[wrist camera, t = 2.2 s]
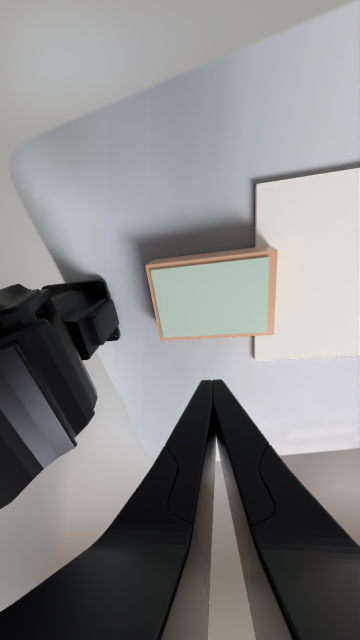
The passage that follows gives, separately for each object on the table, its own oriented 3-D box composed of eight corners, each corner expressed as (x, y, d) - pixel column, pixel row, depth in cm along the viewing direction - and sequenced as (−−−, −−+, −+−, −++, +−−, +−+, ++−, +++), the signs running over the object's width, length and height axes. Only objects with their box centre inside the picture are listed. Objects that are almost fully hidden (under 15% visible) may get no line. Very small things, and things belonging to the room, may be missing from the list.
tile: (267, 321, 21) (165, 328, 23) (269, 245, 18) (152, 259, 20) (274, 336, 19) (159, 341, 20) (278, 250, 16) (144, 265, 17)
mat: (253, 358, 23) (254, 361, 23) (255, 184, 17) (256, 184, 16) (423, 348, 21) (428, 351, 21) (501, 145, 15) (511, 143, 14)
